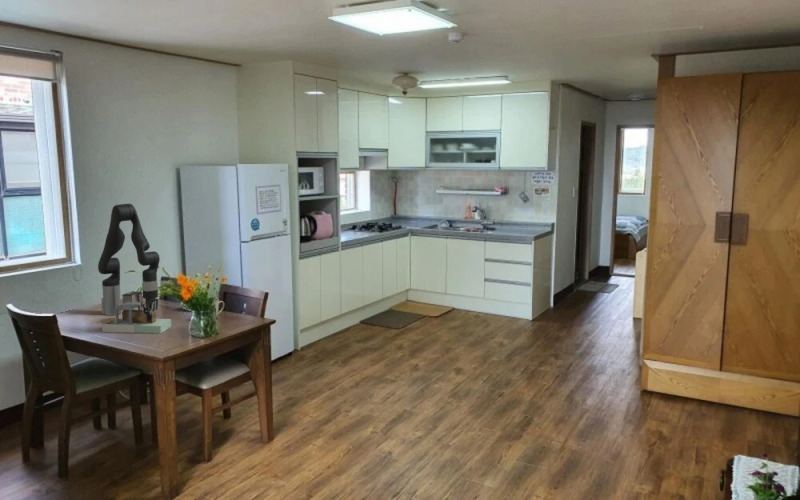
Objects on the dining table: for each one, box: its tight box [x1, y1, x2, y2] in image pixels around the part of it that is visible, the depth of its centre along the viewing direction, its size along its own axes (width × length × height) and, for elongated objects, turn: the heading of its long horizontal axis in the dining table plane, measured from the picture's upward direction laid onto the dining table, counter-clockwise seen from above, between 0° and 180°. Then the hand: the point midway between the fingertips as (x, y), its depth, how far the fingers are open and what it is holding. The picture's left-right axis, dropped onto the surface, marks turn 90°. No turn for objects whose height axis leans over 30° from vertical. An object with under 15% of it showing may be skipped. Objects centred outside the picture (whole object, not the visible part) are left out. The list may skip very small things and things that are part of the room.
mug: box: [215, 297, 225, 317], centre depth 334 cm, size 11×10×12 cm
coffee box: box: [121, 291, 144, 311], centre depth 328 cm, size 9×6×16 cm
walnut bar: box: [121, 309, 157, 323], centre depth 312 cm, size 16×4×6 cm, turn 89°
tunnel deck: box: [101, 302, 172, 334], centre depth 312 cm, size 31×14×13 cm, turn 90°
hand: (151, 319), depth 312 cm, fingers closed on walnut bar, 4 cm apart
